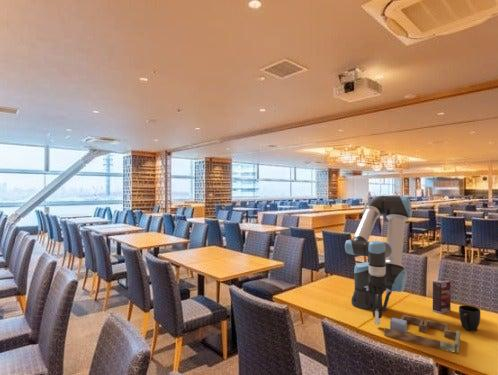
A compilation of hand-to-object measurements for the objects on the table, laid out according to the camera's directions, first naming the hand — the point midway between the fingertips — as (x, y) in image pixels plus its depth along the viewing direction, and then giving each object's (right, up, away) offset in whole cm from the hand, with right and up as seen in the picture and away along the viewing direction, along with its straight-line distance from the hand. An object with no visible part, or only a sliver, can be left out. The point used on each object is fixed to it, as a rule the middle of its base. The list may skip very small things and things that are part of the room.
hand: (377, 324), depth 152 cm
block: (+8, -2, -5) cm, 9 cm away
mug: (+40, -1, -4) cm, 41 cm away
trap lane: (+17, -1, -8) cm, 19 cm away
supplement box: (+42, -1, +18) cm, 46 cm away
